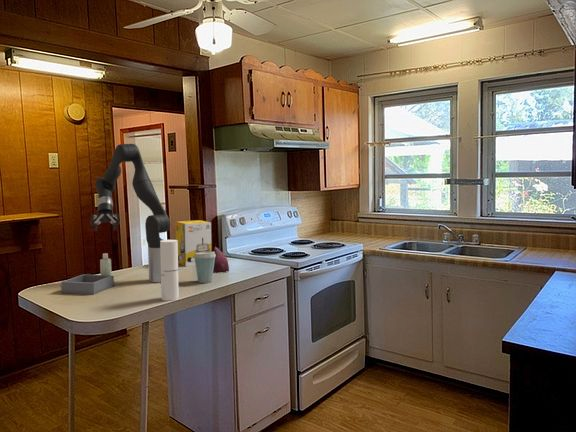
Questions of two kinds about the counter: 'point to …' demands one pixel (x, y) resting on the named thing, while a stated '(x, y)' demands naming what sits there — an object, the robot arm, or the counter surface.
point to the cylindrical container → (169, 270)
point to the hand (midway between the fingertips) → (105, 230)
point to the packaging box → (192, 240)
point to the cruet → (105, 265)
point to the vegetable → (220, 262)
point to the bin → (87, 284)
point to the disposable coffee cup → (205, 266)
